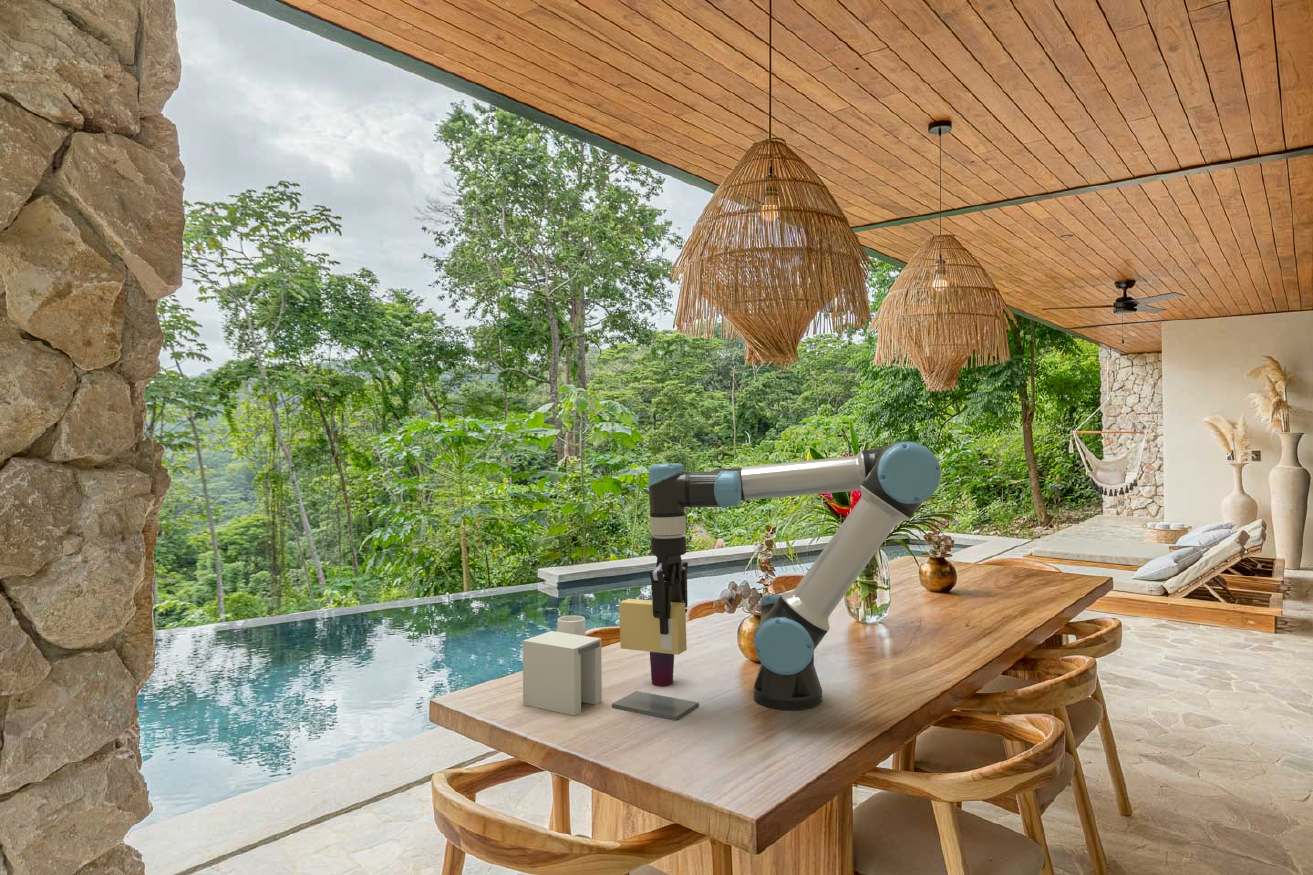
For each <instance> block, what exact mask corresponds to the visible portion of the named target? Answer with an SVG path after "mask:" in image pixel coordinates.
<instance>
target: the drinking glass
mask: <svg viewBox="0 0 1313 875" xmlns="http://www.w3.org/2000/svg"><path fill="white" fill-rule="evenodd" d="M556 624H557V626H556V632H562V633H569V634H575V635H582V636H586V633H587V632H586V631H587V630H586V618H585V617H584V616H582V615H564V616H559V617H558V618H557V623H556Z"/></svg>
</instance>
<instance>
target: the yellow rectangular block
mask: <svg viewBox="0 0 1313 875" xmlns="http://www.w3.org/2000/svg"><path fill="white" fill-rule="evenodd" d="M618 606H619V607H618V609H619V610H618V611H619V614H618V615H619V636H620V638H619V640H620V643H619V644H620V649H622V650H629V651H630V650H631V651H640V652H649V653H650V652H658V653H667V654H674V655H676V656H677V655H681V654H682V653H684V652H686V651H687V650H688V648H687V646H688V644H687V620H686V613H685V609H686V608H685V603H680V602H671V609H670V618H672V624H673V650H666V649H660V623H659V618H655V617H654V616H653V604H652V599H638V598H636V599H634V598H627V599H624V600H621V601H619V602H618Z"/></svg>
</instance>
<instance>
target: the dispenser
mask: <svg viewBox="0 0 1313 875" xmlns="http://www.w3.org/2000/svg"><path fill="white" fill-rule="evenodd" d="M602 667H603V666H602V638H601V637H596V636H595V637H594V636H588V635H587V636H586V635H585V636H582V635H575V634H569V633H562V632H557V631H556V630H555V631H554V630H550V631H547V632H544V633H541V634H538V635H535V636H533V637H530V638H526V639H524V640H522V705H524V706H527V707H528V706H529V707H533V708H538V709H543V710H546V711H547V710H548V711H552V712H556V713H559V714H560V713H562V714H566V715H571V716H573V717H574V716H577V715H578V714H580V713H582V703H585V704H589V705H590V704H591V705H596V706H597V705H598V704H600V703H602V702H603V698H602V697H603V696H602V695H603V694H602V692H603V690H602V689H603V687H602V686H603V684H602V681H603V680H602V672H603V671H602Z"/></svg>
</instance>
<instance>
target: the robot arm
mask: <svg viewBox="0 0 1313 875" xmlns="http://www.w3.org/2000/svg"><path fill="white" fill-rule="evenodd" d="M941 470H942V469H941V465H940V463H939V460H938V458H937V457H936V454H934V453H933V451H932V450H930V449H929V448H928V447H927V446H924V445H923V444H921V443H920V442H915V441H900V442H895V443H891V444H889V445H884V446H882V447H877V448H873V449H865V450H864V449H863V450H860V451H858V452H857V454H856V455H849V456H840V457H830V458H829V457H828V458H821V459H820V458H819V459H810V460H800V461H790V462H780V463H772V464H771V463H768V464H759V465H750V466H748V465H747V466H741V467H731V468H726V467H721V468H716V469H714V470H712V471H711V470H710V471H696V472H695V471H693V472H692V471H690V472H689V471H685V469H684V465H683V464H682V463H677V462H676V463H675V462H673V463H654V464H651V465H650V466H649V469H648V485H647V488H648V498H649V500H648V501H649V522H648V523H649V525H650V527H649V528H650V535H651V536H653V537H651V538H650V554H651V555H652V556H654V557H656V564H655V566H656V568H655V569H654V570H651V569H650V570H649V573H648V574H649V578H650V582H651V583H650V585H651V586H650V587H651V600H652V604H653V616H654V617H655V618H659V623H660V649H666V650H673V624H672V618H670V609H671V602H680V603H685V614H686V613H688V604H689V603H688V567H689V562H688V561H683V559H682V556H684V555H685V554H687V537H685V536H684V535H685V534H687V532H686V531H687V530H686V528H687V527H686V511H685V510H686V508H687V509H688V508H689V509H690V508H691V509H692V508H722V509H723V508H730V507H731V508H733V507H738V506H739V505H740V504H741V502H743V501H750V500H762V499H775V498H785V497H797V496H808V495H809V496H811V495H820V494H831V493H833V494H834V493H841V492H842V493H843V492H844V493H846V492H855V491H856V492H857V491H859V492H860V494H861V496H860V498H859V499H858V501H857V503H856V504H855V505H854V507H853V508H852V510H850V512H849V513H848V515H847V516H846V518H845V519H844V521H843V522H842V523H841V524H840V526H839V528H838V529H837V530H836V532H835V533H834V534H833V536H832V537H831V538H830V540H829V541H828V543H827V544H826V545H825V547H824V548H823V550H822V551H821V552H820V554H819V555H818V556H817V558H816V559H815V561H814V562H813V564H812V565H811V566H810V568H809V569H808V570H807V571H806V573H805V574H804V576H803V577H802V579H801V580H800V582H799V583H798V584H797V586H796V587H795V588H794V590H792V591H790V592H788V591H787V592H783V593H781V594H765V595H763V596H762V597H761V598H760V605H759V609H760V622H759V624H758V627H757V629H756V631H755V633H754V637H753V644H754V650H755V654H756V657H757V658H758V660H759V661H760V665H759V668H758V672H757V675H756V678H755V681H754V684H753V699H754V701H756V703H758V704H760V705H763V706H766V707H768V708H773V709H778V710H779V709H780V710H792V711H793V710H794V711H795V710H804V709H805V710H806V709H812V708H816V707H817V706H819V705H821V704H822V702H823V689H822V685H821V682H820V680H819V677H818V676H819V675H818V673H817V670H816V667H815V650H816V648H817V647H818V645H819V644H820V643H821V641H822V640H823V639H824V637H826V634H827V633H828V631H829V630H830V622H829V617H831V616H830V615H831V614H832V613H833V611H834V610H835V609H836V607H837V606H838V605H839V604H840V602H841V601H842V599H844V598H843V597H845V596H846V594H847V593H848V591H849V590H850V588H851V587H852V586H853V584H854V583H855V582H856V580H857V579H858V577H859V576H860V575H861V573H862V572H863V571H864V569H865V568H866V566H867V565H868V564H869V563H870V561H871V560H872V558H873V557H874V556H875V554H876V553H877V551H878V550H879V549H880V548H881V546H882V544H883V543H884V542H885V541H886V539H887V538H888V536H889V535H890V533H891V532H892V531H893V530H894V528H895V527H896V526H897V525H898V523H900V522H905V521H910V520H911V518H912V517H913V516H914V514H915V513H916V512H917V510H918V509H919V508H920V507H921V505H922V504H923V502H925V501H926V500H928V499H930V498H931V497H932V496H933V495H934V494H935V492H936V491H937V490H938V487H939V485H940V482H941V477H942V473H941V472H942V471H941Z"/></svg>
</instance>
